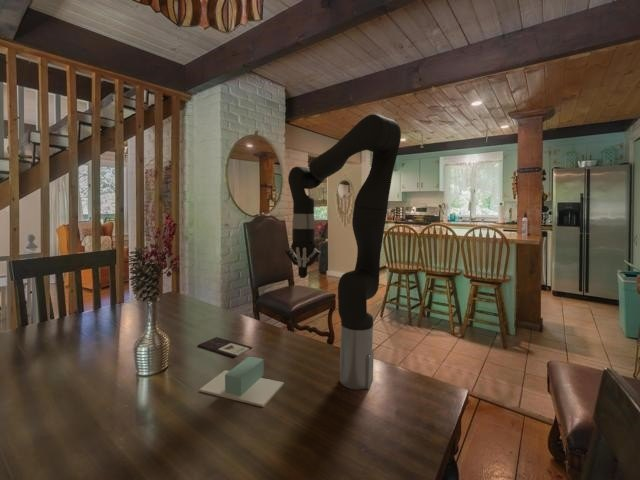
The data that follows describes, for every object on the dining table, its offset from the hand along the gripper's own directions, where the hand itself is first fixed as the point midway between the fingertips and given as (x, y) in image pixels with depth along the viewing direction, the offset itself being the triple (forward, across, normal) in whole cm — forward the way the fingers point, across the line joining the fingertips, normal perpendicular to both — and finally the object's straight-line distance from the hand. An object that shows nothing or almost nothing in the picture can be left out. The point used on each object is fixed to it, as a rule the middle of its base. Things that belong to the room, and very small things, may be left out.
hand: (303, 277), depth 113 cm
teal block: (+24, -7, -19) cm, 32 cm away
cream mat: (+27, -7, -27) cm, 39 cm away
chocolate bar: (+28, -28, -6) cm, 40 cm away
